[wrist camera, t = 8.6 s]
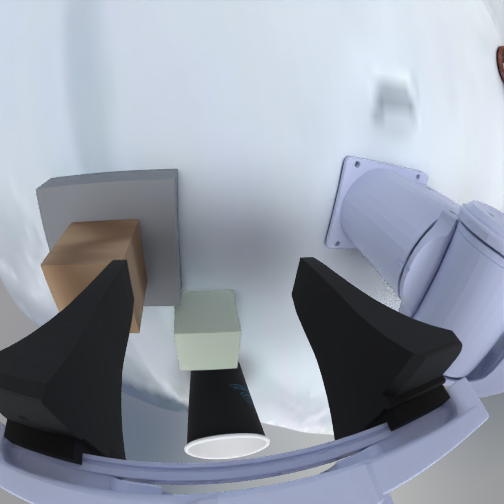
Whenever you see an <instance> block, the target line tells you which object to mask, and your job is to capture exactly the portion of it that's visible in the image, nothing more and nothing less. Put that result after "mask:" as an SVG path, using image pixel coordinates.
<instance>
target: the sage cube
mask: <svg viewBox="0 0 504 504" xmlns="http://www.w3.org/2000/svg"><path fill="white" fill-rule="evenodd" d="M241 332H242V331H241V327H240V322H239V317H238V312H237V308H236V303H235V298H234V293H233V290H199V291H181V306H175V318H174V337H175V343H176V350H177V356H178V362H179V367H180V371H184V370H214V369H231V368H237V366H238V357H239V349H240V340H241Z"/></svg>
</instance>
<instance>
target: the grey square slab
mask: <svg viewBox="0 0 504 504" xmlns="http://www.w3.org/2000/svg"><path fill="white" fill-rule="evenodd" d="M36 193H37V199H38V204H39V209H40V214H41V219H42V223H43V227H44V231H45V235H46V239H47V243H48V246H49V250H50V251H51V249H52V248H53V247H54V245H55V244H56V242H57V241H58V240H59V238H60V237H61V236H62V234H63V233H64V232H65V230H66V229H67V228H68V226H69V225H70V224H71V223H72V222H88V221H105V220H125V219H139V224H140V233H141V241H142V248H143V255H144V262H145V269H146V275H147V281H148V282H147V288H146V293H145V299H144V305H143V306H181V273H180V257H179V236H178V198H177V169H156V170H133V171H117V172H104V173H92V174H82V175H73V176H64V177H56V178H51V179H49V180H48V181H47V182H45V183H44V184H42V185H41V186H40V187H38V188H37V189H36Z"/></svg>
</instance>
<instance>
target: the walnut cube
mask: <svg viewBox="0 0 504 504" xmlns="http://www.w3.org/2000/svg"><path fill="white" fill-rule="evenodd" d="M112 260H127V263H128V269H129V274H130V280H131V285H132V290H133V295H134V307H133V317H132V323H131V328H130V332H129V333H139V332H140V325H141V318H142V311H143V305H144V299H145V293H146V288H147V282H148V281H147V275H146V269H145V262H144V255H143V248H142V241H141V233H140V224H139V219H125V220H105V221H88V222H72V223H71V224H70V225H69V226H68V228H67V229H66V230H65V232H64V233H63V234H62V236H61V237H60V238H59V240H58V241H57V242H56V244H55V245H54V247H53V248H52V249H51V251H50V252H49V254H48V255H47V257H46V258H45V259H44V261H43V262H42V264H41V268H42V270H43V273H44V276H45V279H46V281H47V284H48V286H49V289H50V291H51V294H52V296H53V298H54V301H55V303H56V305H57V308H58V310H59V312H61V311H62V310H63V309H64V308H65V307H66V306H67V305H69V304H70V303H71V302H72V301H73V300H74V299H75V298H76V297H77V296H78V295H79V294H80V293H81V292H82V291H83V290H84V289H85V288H86V287H87V286H88V285H89V284H90V283H91V282H92V281H93V280H94V279H95V278H96V277H97V276H98V275H99V274H100V273H101V272H102V270H103V269H104V268H105V267H106V266H107V265H108V264H109V263H110V262H111V261H112Z"/></svg>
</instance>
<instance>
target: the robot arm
mask: <svg viewBox="0 0 504 504" xmlns="http://www.w3.org/2000/svg"><path fill="white" fill-rule="evenodd" d="M356 161H357V162H358V164H357V165H356V166H355V162H356ZM416 176H417V177H416ZM427 180H428V175H427V174H426V173H424V172H421V171H417V170H413V169H409V168H405V167H401V166H396V165H392V164H388V163H383V162H378V161H374V160H369V159H364V158H358V157H353V156H349V157H347V158H346V159H345V161H344V166H343V171H342V175H341V180H340V185H339V189H338V194H337V198H336V202H335V207H334V211H333V215H332V219H331V223H330V227H329V231H328V235H327V239H326V245H327V247H328V248H331V249H343V248H358V249H359V251H360V252H361V253H362V254H363V255H364V256H365V257H366V258H367V260H368V261H369V262H370V263H371V264H372V265H373V266H374V268H375V269H376V270H377V271H378V272H379V274H380V275H381V276H382V277H383V278H384V279H385V281H386V282H387V283H388V284H389V285H390V287H391V288H392V289H393V290H394V292H395V293H396V294H397V295H398V297H399V298H400V299H401V306H400V308H399V312H397V311H395V310H393V309H391V308H389V307H387V306H385V305H384V304H382V303H380V302H378V301H377V300H375V299H373V298H371V297H370V296H368V295H367V294H365V293H364V292H362V291H361V290H359V289H358V288H356V287H355V286H353V285H352V284H350V283H349V282H348V281H346V280H345V279H343V278H342V277H341V276H339V275H338V274H337V273H335V272H334V271H333V270H331V269H330V268H328V267H327V266H326V265H324V264H323V263H321V262H320V261H318V260H317V259H315V258H314V257H305V258H300V262H299V266H298V270H297V274H296V279H295V283H294V287H293V291H292V298H293V302H294V305H295V309H296V312H297V315H298V317H299V320H300V322H301V324H302V327H303V329H304V331H305V334H306V336H307V338H308V340H309V343H310V345H311V347H312V349H313V352H314V354H315V357H316V359H317V362H318V365H319V369H320V372H321V375H322V379H323V382H324V386H325V390H326V394H327V398H328V403H329V408H330V413H331V418H332V424H333V431H334V438H335V441H332V442H328V443H325V444H321V445H318V446H313V447H310V448H305V449H301V450H296V451H292V452H287V453H282V454H277V455H271V456H265V457H259V458H251V459H243V460H233V461H222V462H206V463H155V462H141V461H130V460H126V458H125V451H124V443H123V433H122V416H121V386H122V370H123V362H124V357H125V352H126V347H127V342H128V337H129V332H130V328H131V323H132V317H133V307H134V295H133V290H132V285H131V280H130V274H129V269H128V263H127V260H112V261H111V262H110V263H109V264H108V265H107V266H106V267H105V268H104V269H103V270H102V272H101V273H100V274H99V275H98V276H97V277H96V278H95V279H94V280H93V281H92V282H91V283H90V284H89V285H88V286H87V287H86V288H85V289H84V290H83V291H82V292H81V293H80V294H79V295H78V296H77V297H76V298H75V299H74V300H73V301H72V302H71V303H70V304H69V305H67V306H66V307H65V308H64V309H63V310H62V311H61V312H59V313H58V314H57V315H56V316H54V317H53V318H52V319H51V320H49V321H48V322H47V323H45V324H44V325H42V326H41V327H40V328H38V329H37V330H36V331H34V332H33V333H31V334H30V335H28V336H27V337H25V338H23V339H22V340H20V341H18V342H17V343H15V344H13V345H11V346H10V347H7V348H5V349H3V350H2V351H0V413H1V414H2V415H3V416H4V417H6V418H7V423H6V425H4V424H2V423H1V422H0V487H1V488H2V489H4V490H6V491H8V492H10V493H12V494H13V495H15V496H17V497H19V498H21V499H23V500H25V501H27V502H29V503H31V504H394V503H393V501H392V498H391V496H390V493H389V492H390V491H392V490H394V489H395V488H397V487H399V486H401V485H402V484H404V483H406V482H407V481H409V480H411V479H412V478H414V477H415V476H417V475H418V474H420V473H421V472H423V471H424V470H426V469H427V468H428V467H430V466H431V465H433V464H434V463H435V462H437V461H438V460H440V459H441V458H442V457H444V456H445V455H446V454H447V453H448V452H450V451H451V450H452V449H454V448H455V447H456V446H457V445H459V444H460V443H461V442H462V441H463V440H464V439H466V438H467V437H468V436H469V435H470V434H471V433H472V432H474V431H475V430H476V429H477V428H478V427H479V426H480V425H481V424H483V423H484V422H485V421H486V420H487V419H488V418H489V415H488V413H487V412H486V409H485V408H484V406H483V404H482V403H481V401H480V399H479V398H480V397H485V396H490V395H494V394H498V393H501V392H504V213H502V212H501V211H499V210H497V209H495V208H493V207H491V206H489V205H487V204H484V203H482V202H479V201H471V202H469V203H467V204H462V205H461V206H460V205H458V204H457V203H455V202H454V201H452V200H451V199H449V198H447V197H446V196H444V195H442V194H441V193H439V192H437V191H436V190H434V189H432V188H431V187H429V186H427V185H426V184H427ZM337 241H338V243H337V244H335V243H336V242H337ZM443 385H444V386H449V387H448V388H447V389H445V387H444V386H443ZM349 456H350V457H349ZM346 457H347V458H346ZM343 458H345V459H343ZM340 459H343V460H340ZM337 460H340V461H338V462H336V464H335V465H334V466H332V467H331V468H330V469H328V470H326V471H324V472H322V473H320V474H318V475H314V476H310V477H306V478H302V479H298V480H293V481H288V482H284V483H278V484H273V485H268V486H262V487H256V488H249V489H242V490H235V491H225V492H216V493H203V494H184V495H183V494H182V495H181V494H180V495H174V494H172V493H170V492H166V491H163V490H162V488H161V487H160V486H155V485H148V484H142V483H150V484H171V485H174V484H175V485H198V484H219V483H231V482H240V481H248V480H255V479H262V478H268V477H274V476H279V475H283V474H289V473H293V472H297V471H302V470H306V469H310V468H313V467H317V466H320V465H324V464H327V463H331V462H334V461H337ZM136 482H138V483H136Z"/></svg>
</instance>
